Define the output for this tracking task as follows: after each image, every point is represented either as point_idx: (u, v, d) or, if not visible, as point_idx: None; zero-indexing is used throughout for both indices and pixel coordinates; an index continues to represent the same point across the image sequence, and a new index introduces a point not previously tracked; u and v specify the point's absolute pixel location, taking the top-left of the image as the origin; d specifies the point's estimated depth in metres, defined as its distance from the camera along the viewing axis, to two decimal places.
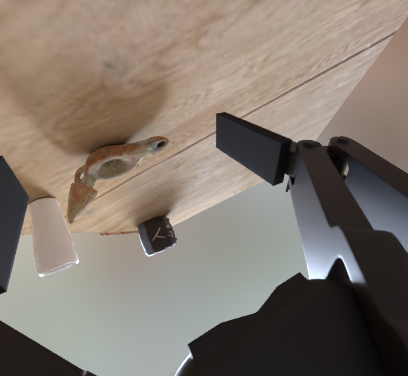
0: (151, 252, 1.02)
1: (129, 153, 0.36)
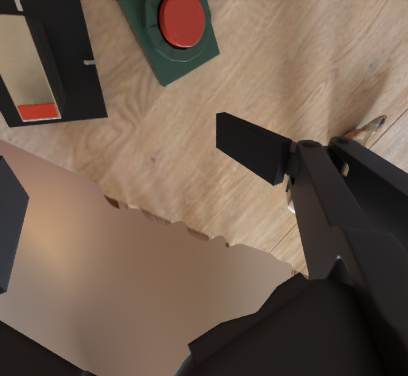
0: None
1: (367, 130, 0.53)
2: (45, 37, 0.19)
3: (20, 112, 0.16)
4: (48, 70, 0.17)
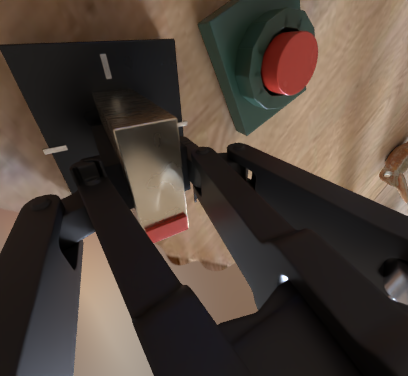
0: None
1: None
2: None
3: None
4: None
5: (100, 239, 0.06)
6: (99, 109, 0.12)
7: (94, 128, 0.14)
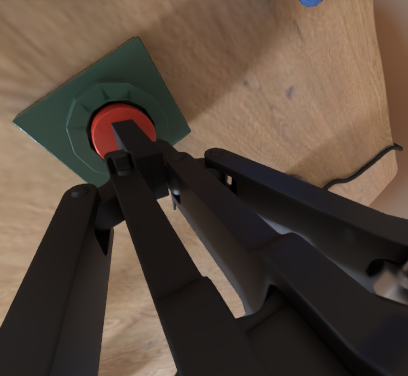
0: None
1: None
2: None
3: None
4: None
5: (128, 225, 0.06)
6: None
7: (114, 124, 0.14)
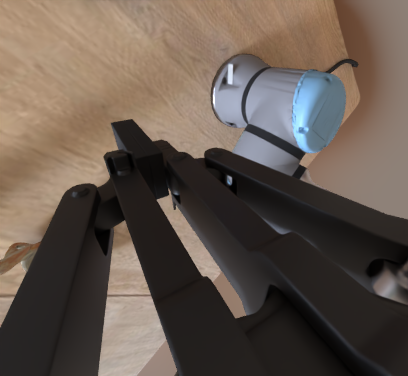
0: None
1: None
2: None
3: None
4: None
5: (128, 225, 0.06)
6: None
7: (114, 124, 0.14)
